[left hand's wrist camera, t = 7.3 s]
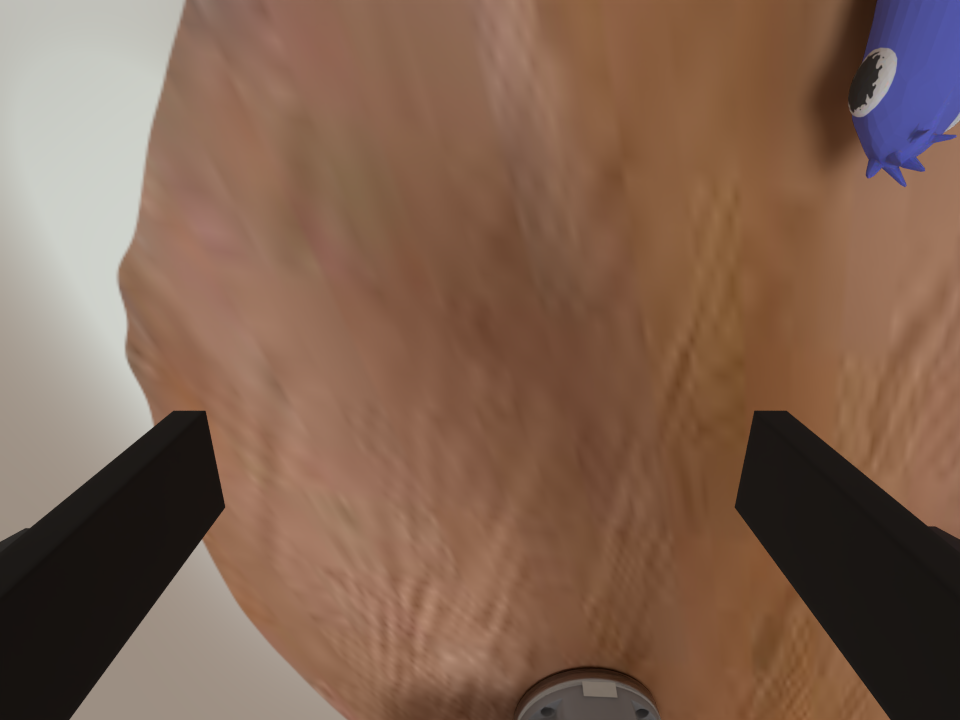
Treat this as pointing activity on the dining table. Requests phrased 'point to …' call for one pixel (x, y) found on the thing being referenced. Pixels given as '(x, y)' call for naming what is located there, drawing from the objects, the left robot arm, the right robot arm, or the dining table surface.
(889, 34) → the toy
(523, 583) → the dining table surface
